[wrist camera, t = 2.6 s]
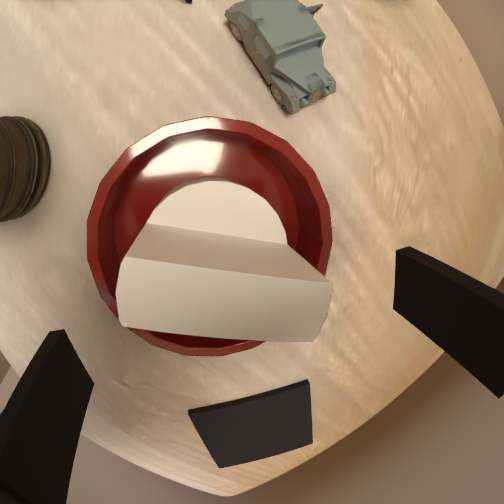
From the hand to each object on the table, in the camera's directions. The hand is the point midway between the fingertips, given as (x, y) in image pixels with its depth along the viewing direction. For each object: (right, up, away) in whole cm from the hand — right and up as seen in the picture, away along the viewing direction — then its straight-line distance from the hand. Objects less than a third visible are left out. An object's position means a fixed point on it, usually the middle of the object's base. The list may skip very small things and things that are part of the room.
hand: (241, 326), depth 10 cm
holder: (+1, -20, +22) cm, 29 cm away
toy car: (+3, +19, +10) cm, 22 cm away
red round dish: (-3, +4, +13) cm, 14 cm away
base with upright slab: (-3, +4, +13) cm, 14 cm away
